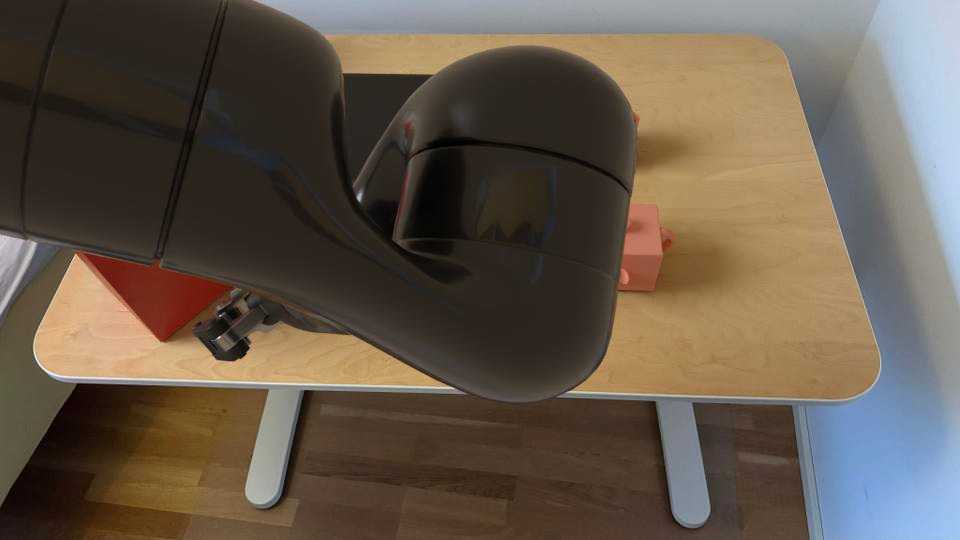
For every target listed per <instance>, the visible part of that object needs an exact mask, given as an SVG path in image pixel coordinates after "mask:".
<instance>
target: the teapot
mask: <svg viewBox="0 0 960 540" xmlns="http://www.w3.org/2000/svg"><path fill="white" fill-rule="evenodd" d="M662 238H666V239H665V240H663V241H662ZM674 243H675V234H674V233H673V231H672V230H671V229H669V228H668V227H664V226H661V225H660V215H659V208H658V204H656V203H630V208H629V216H628V223H627V231H626V238H625V246H624V253H623V261H622V268H621V276H620V283H619V290H618V291H645V292H646V291H650V292H653V291H654V290H655V286H656V283H657V280H658V276H659V274H660V273H659V272H660V269H661V265H662V262H663V261H664V258H665V254H664V253H665V252H667V251H668V250H669V249H670V248H672V247H673V245H674Z"/></svg>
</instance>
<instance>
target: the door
mask: <svg viewBox="0 0 960 540" xmlns="http://www.w3.org/2000/svg"><path fill="white" fill-rule="evenodd" d="M82 253H83V255H84V256H85V257H86V258H87V259H88V260H89V261H90V263H91V264H92V265H93V266H94V267H95V268H96V269H97V271H98V272H99V273H100V274H101V275H102V276H103V277H104V279H105V280H106V281H107V282H108V283H109V284H110V285H111V287H112V288H113V289H114V290H115V291H116V292H117V293H118V295H119V296H120V297H121V298H122V299H123V300H124V301H125V303H126V304H127V305H128V306H129V307H130V308H131V309H132V311H133V312H134V313H135V314H136V315H137V316H138V317H139V319H140V320H141V321H142V322H143V323H144V324H145V325H146V326H147V328H148V329H149V330H150V331H151V332H152V333H153V334H154V335H153V334H152V333H151V332H150V331H149V330H148V329H147V328H146V329H147V330H148V331H149V332H150V333H151V334H152V335H153V336H154V338H156V339H157V341H159V342H160V343H163V342H164V341H166V339H168V338H170V336H172V335H173V334H174V333H176V332H177V331H178V330H180V328H182V327H183V326H185V325H186V324H187V323H189V321H191V320H192V319H194V317H196V316H198V314H199V313H201V312H202V311H203V310H205V309H206V308H208V307H209V306H210V305H211V304H212V303H214V302H215V301H217V299H219V298H220V297H221V296H223V295H224V294H225V293H227V292H228V291H229V290H230V289H232V288H233V287H232V286H229V285H225V284H222V283H218V282H214V281H210V280H207V279H203V278H199V277H195V276H191V275H186V274H182V273H178V272H173V271H169V270H165V269H161V268H160V267H159V262H160V261H158V260H156V261H155V265H153V266H151V267H150V266H146V265H141V264H136V263H132V262H127V261H122V260H117V259H113V258H108V257H103V256H98V255H94V254H89V253H84V252H82Z"/></svg>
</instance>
